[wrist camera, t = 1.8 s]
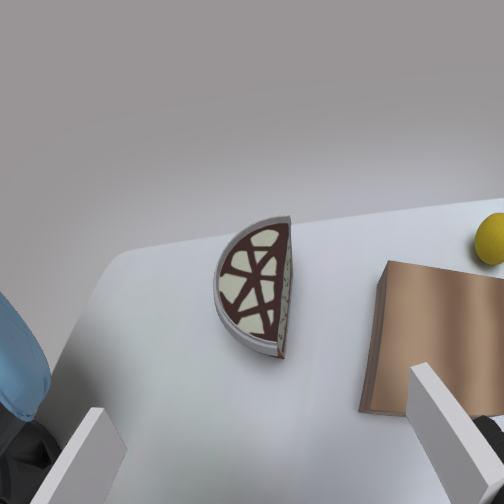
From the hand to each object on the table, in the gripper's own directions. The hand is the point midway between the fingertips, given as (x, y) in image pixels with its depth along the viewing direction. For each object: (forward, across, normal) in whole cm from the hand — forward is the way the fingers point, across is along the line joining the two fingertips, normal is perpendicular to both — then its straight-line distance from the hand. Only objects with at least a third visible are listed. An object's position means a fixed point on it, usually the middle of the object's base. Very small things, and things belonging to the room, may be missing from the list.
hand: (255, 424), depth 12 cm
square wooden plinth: (+17, +16, -11) cm, 26 cm away
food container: (+22, -1, -5) cm, 23 cm away
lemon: (+23, +28, -4) cm, 37 cm away
